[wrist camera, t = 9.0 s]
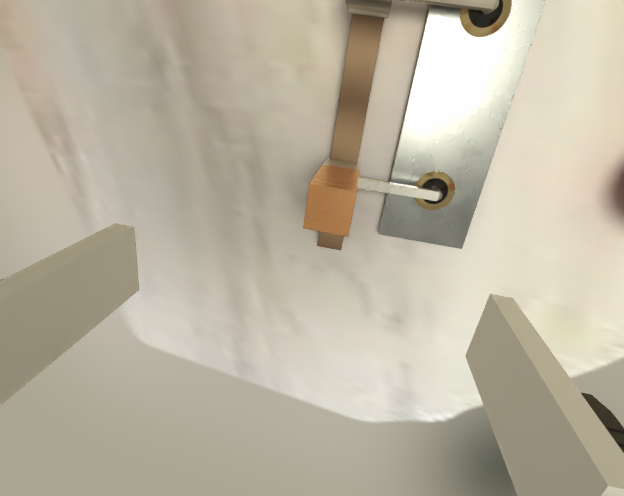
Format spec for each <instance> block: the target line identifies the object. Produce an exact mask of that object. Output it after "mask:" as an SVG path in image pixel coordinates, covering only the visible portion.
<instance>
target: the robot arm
mask: <svg viewBox="0 0 624 496" xmlns="http://www.w3.org/2000/svg"><path fill="white" fill-rule="evenodd" d="M138 290H139V281H138V269H137V256H136V243H135V230H134V227H131V226H125V225H120V224H113V225H111V226H109V227H107V228H105V229H103V230H101V231H99V232H97V233H95V234H93V235H91V236H89V237H87V238H85V239H83V240H81V241H79V242H77V243H75V244H73V245H72V246H69V247H67V248H65V249H63V250H61V251H59V252H57V253H55V254H53V255H51V256H49V257H47V258H45V259H43V260H41V261H39V262H37V263H35V264H33V265H31V266H29V267H27V268H25V269H23V270H21V271H19V272H17V273H15V274H13V275H11V276H9V277H7V278H5V279H2V280H0V406H1V405H2V404H3V403H4V402H6V401H7V400H8V399H9V398H10V397H12V396H13V395H14V394H15V393H16V392H18V391H19V390H20V389H21V388H22V387H23V386H25V385H26V384H27V383H28V382H30V381H31V380H32V379H33V378H34V377H35V376H37V375H38V374H39V373H40V372H42V371H43V370H44V369H45V368H46V367H47V366H49V365H50V364H51V363H52V362H53V361H55V360H56V359H57V358H58V357H59V356H61V355H62V354H63V353H64V352H65V351H67V350H68V349H69V348H70V347H71V346H73V345H74V344H75V343H76V342H77V341H79V340H80V339H81V338H82V337H83V336H85V335H86V334H87V333H88V332H89V331H90V330H92V329H93V328H94V327H95V326H96V325H98V324H99V323H100V322H101V321H102V320H104V319H105V318H106V317H107V316H108V315H109V314H111V313H112V312H113V311H114V310H115V309H117V308H118V307H119V306H120V305H122V304H123V303H124V302H125V301H126V300H128V299H129V298H130V297H131V296H132V295H134V294H135V293H136V292H137V291H138ZM466 359H467V361H468V364H469V367H470V369H471V372H472V375H473V378H474V380H475V383H476V386H477V388H478V391H479V394H480V396H481V399H482V402H483V404H484V407H485V410H486V412H487V415H488V418H489V420H490V423H491V426H492V429H493V431H494V433H495V436H496V439H497V442H498V445H499V447H500V450H501V453H502V455H503V458H504V461H505V463H506V466H507V469H508V471H509V474H510V477H511V479H512V482H513V485H514V488H515V490H516V493H517V496H624V428H623V426H622V425H621V424H620V422H619V421H618V420H617V419H616V417H615V416H614V415H613V414H612V412H611V411H610V410H608V409H607V408H606V407H605V406H604V405H603V404H601V403H600V402H599V401H598V400H597V399H596V398H594V397H593V396H592V395H590V394H585V393H580V392H579V390H578V389H577V387H576V386H575V384H574V383H573V382H572V380H571V379H570V377H569V376H568V375H567V373H566V372H565V370H564V369H563V368H562V366H561V365H560V363H559V362H558V361H557V359H556V358H555V356H554V355H553V354H552V352H551V351H550V349H549V348H548V347H547V345H546V344H545V342H544V341H543V340H542V338H541V337H540V335H539V334H538V333H537V331H536V330H535V329H534V327H533V326H532V324H531V323H530V322H529V320H528V319H527V317H526V316H525V315H524V313H523V312H522V310H521V309H520V308H519V306H518V305H517V303H516V302H515V301H514V299H513V298H509V297H503V296H498V295H493V294H490V296H489V298H488V301H487V303H486V306H485V308H484V311H483V313H482V316H481V318H480V321H479V323H478V326H477V328H476V331H475V333H474V336H473V338H472V341H471V343H470V346H469V348H468V351H467V353H466Z"/></svg>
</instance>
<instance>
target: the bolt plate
mask: <svg viewBox="0 0 624 496" xmlns="http://www.w3.org/2000/svg"><path fill="white" fill-rule="evenodd" d="M545 2H546V0H499V5H498V7H497V8H496V9H495V10H493V11H492V12H490V13H489V14H484V13H482V11H481V10H473V9H465V8H457V7H449V6H441V5H433V4H430V5H429V9H428V14H427V18H426V22H425V27H424V31H423V36H422V40H421V44H420V49H419V53H418V58H417V62H416V67H415V71H414V75H413V80H412V84H411V89H410V93H409V97H408V102H407V106H406V111H405V115H404V119H403V124H402V128H401V133H400V137H399V141H398V146H397V150H396V155H395V159H394V163H393V168H392V172H391V177H390V181H389V182H393V183H399V184H405V185H411V186H417V187H423V188H429V189H432V188H438V189H439V190H440V191H441V193H442V198H441V199H440V200H437V201H432V200H427V199H421V198H415V197H409V196H403V195H397V194H391V193H387V194H386V199H385V203H384V207H383V212H382V216H381V221H380V225H379V229H378V233H379V234H382V235H388V236H393V237H399V238H404V239H410V240H416V241H421V242H427V243H432V244H438V245H444V246H449V247H455V248H460V249H462V247H463V244H464V241H465V238H466V235H467V232H468V229H469V226H470V223H471V220H472V217H473V214H474V211H475V208H476V205H477V202H478V199H479V196H480V194H481V191H482V188H483V185H484V182H485V179H486V176H487V173H488V170H489V167H490V164H491V161H492V158H493V155H494V152H495V149H496V146H497V143H498V140H499V137H500V134H501V131H502V129H503V126H504V123H505V120H506V117H507V114H508V111H509V108H510V105H511V102H512V99H513V96H514V93H515V90H516V87H517V84H518V81H519V78H520V75H521V72H522V69H523V67H524V64H525V61H526V58H527V55H528V52H529V49H530V46H531V43H532V40H533V37H534V34H535V31H536V28H537V25H538V22H539V19H540V16H541V13H542V10H543V7H544V4H545Z"/></svg>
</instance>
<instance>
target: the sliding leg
mask: <svg viewBox="0 0 624 496" xmlns="http://www.w3.org/2000/svg"><path fill="white" fill-rule="evenodd" d="M359 171H360V164H357V163H351V162H345V161H339V160H333V159H326V160H325V162H324V163H323V164H322V166H321V167H320V169H319V170H318V172H317V173H316V174H315V176H314V177H313V179H312V180H311V182H310V183H309V188H308V196H307V203H306V211H305V218H304V226H303V228H305V229H310V230H316V231H321V232H327V233H332V234H338V235H343V236H348V235H349V230H350V225H351V220H352V215H353V209H354V204H355V199H356V194H357V188H361V189H367V190H373V191H379V192H385V193H391V194H397V195H403V196H409V197H415V198H421V199H427V200H432V201H437V200H440V199H441V198H442V193H441V191H440V190H439V189H438V188H432V189H429V188H423V187H417V186H411V185H405V184H399V183H393V182H387V181H381V180H375V179H369V178H363V177H359Z"/></svg>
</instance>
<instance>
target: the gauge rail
mask: <svg viewBox="0 0 624 496" xmlns="http://www.w3.org/2000/svg"><path fill="white" fill-rule="evenodd" d="M401 1H409V2H417V3H425V4H433V5H441V6H449V7H457V8H465V9H473V10H481V11H482V13H484V14H489V13H490V12H492V11H493V10H495V9H496V8H497V7H498V5H499V0H401ZM346 4H347V8H348V12H349V13H353V15H352V21H351V28H350V34H349V41H348V47H347V54H346V60H345V67H344V73H343V80H342V86H341V93H340V99H339V106H338V112H337V119H336V125H335V132H334V138H333V145H332V151H331V158H330V159H333V160H339V161H345V162H351V163H357V161H358V156H359V150H360V145H361V139H362V134H363V129H364V123H365V118H366V112H367V107H368V102H369V96H370V91H371V85H372V80H373V75H374V69H375V64H376V58H377V53H378V48H379V42H380V37H381V31H382V26H383V21H384V18H388V16H389V12H390V8H391V4H392V0H346ZM343 237H344V236H343V235H338V234H332V233H327V232H321V231H319V236H318V242H317V246H321V247H326V248H332V249H337V250H341V247H342V242H343Z"/></svg>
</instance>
